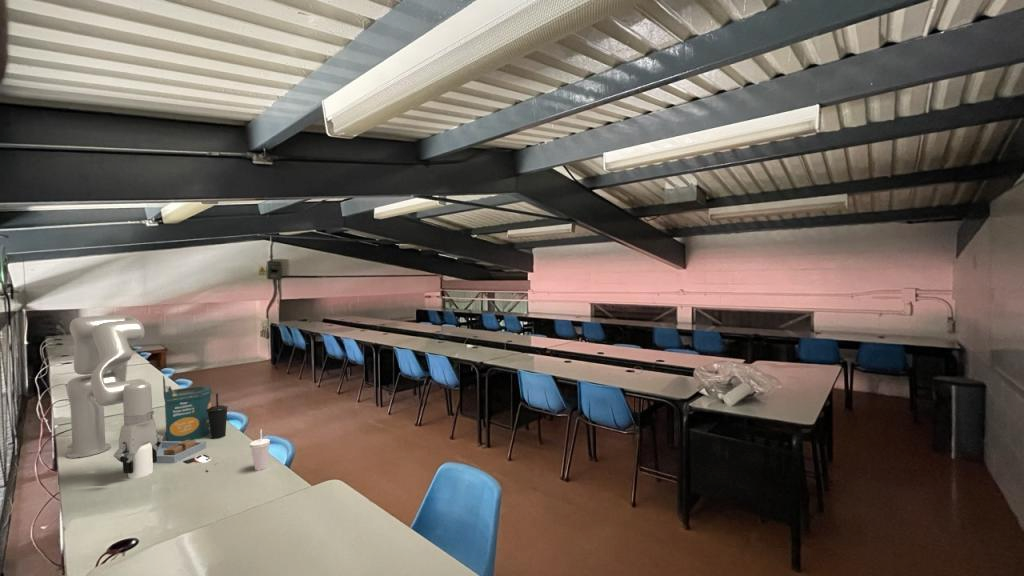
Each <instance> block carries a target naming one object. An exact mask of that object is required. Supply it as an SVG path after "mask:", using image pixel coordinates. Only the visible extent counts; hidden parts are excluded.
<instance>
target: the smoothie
mask: <svg viewBox="0 0 1024 576" xmlns="http://www.w3.org/2000/svg"><path fill="white" fill-rule="evenodd" d="M259 437H260V438H259V439H256V440H253V441H251V442H250V443H249V448H250V449H251V450H250V451H251V456H252V460H253V466H254V470H255V471H262V470H261V469H263V470H265V469H266V467H268V459H269V449H270V447H269V446H270V443H271V440H270V439H269V438H263V429H262V428H261V429H259ZM264 468H265V469H264Z"/></svg>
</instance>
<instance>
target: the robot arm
mask: <svg viewBox="0 0 1024 576" xmlns="http://www.w3.org/2000/svg"><path fill="white" fill-rule="evenodd" d="M69 332H70V334H71V336H72V338H73V340H74V354H73V371H74V373H76V374H78V375H81V376H77V377H73V378H72V379H70V380H69V381H68V382H67V384H66V394H67V397H68V398H67V399H68V401H69V408H70V418H71V419H70V422H71V423H70V424H71V442H70V443H69V444H67V445H66V448H68V449H71V450H70V451H69V452H67V455H66V457H67V458H69V459H78V457H80V458H85V457H90V456H95V455H98V454H101V453H103V452H106V451H108V450H109V449H111V447H112V444H111V443H108V442H107V443H106V428H105V427H106V426H105V425H106V424H105V408H104V407H108V406H114V405H119V404H122V405H123V425H121V427H120V432H119V438H118V439H119V441H118V442H119V444H118V449H117V450H116V451H115V452H114V453H113V454H112V455H113V457H114V458H115V459H116V460H117V461H119V462H120V463H122V473H123V474H128V473H130V474H131V473H133V461H131V460H132V457H133V455H134V454H135V453H137V452H138V450H139V448H140V447H141V445H143V444H146V443H148V442H150V444H151V445H152V458H153V464H156V463H155V462H157V450H158V447H159V445H160V444H161V441H163V439H164V436H163V435H161V434H158V430H157V425H156V421H155V418H154V417H153V414H155V410H153V400H152V399H153V394H152V384H151V383H150V382H147V381H146V380H145V379H142V378H137V379H130V380H127V373H128V362H129V361H130V360H131V358H132V357H133V352H132V350H131V347H130V344H129V342H137V341H140V340H142V339H143V338H144V337H145V333H146V332H145V327H144V325H143V323H142V322H141V321H140V320H138V319H137V318H135V317H134V316H131V315H128V314H113V315H111V314H110V315H109V314H108V315H94V316H93V315H92V316H82V317H81V316H80V317H76V318H74V319H73V320H71V322H70V324H69ZM128 455H129V456H128ZM127 456H128V458H127Z"/></svg>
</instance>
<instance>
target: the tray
mask: <svg viewBox="0 0 1024 576" xmlns="http://www.w3.org/2000/svg"><path fill="white" fill-rule="evenodd" d="M181 442H182V441H166V440H162V441H161V444H160V445H159V447H158V450H157V462H155V463H154V464H156V463H157V464H158V463H159V464H176V463H178V462H180V461H182V460H185V459H186V458H188V457H191V456H192V455H195V454H197V453H199V452H201V451H203V450H206V449H207V444H206V443H207V442H206V441H196V446H193V447H191V448H189V449H187V450H185V451H183V452H180V453H178V454H176V455H164V450H165V449H167V448H169V447H171V446H178V443H181ZM127 458H128V456H127Z"/></svg>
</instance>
